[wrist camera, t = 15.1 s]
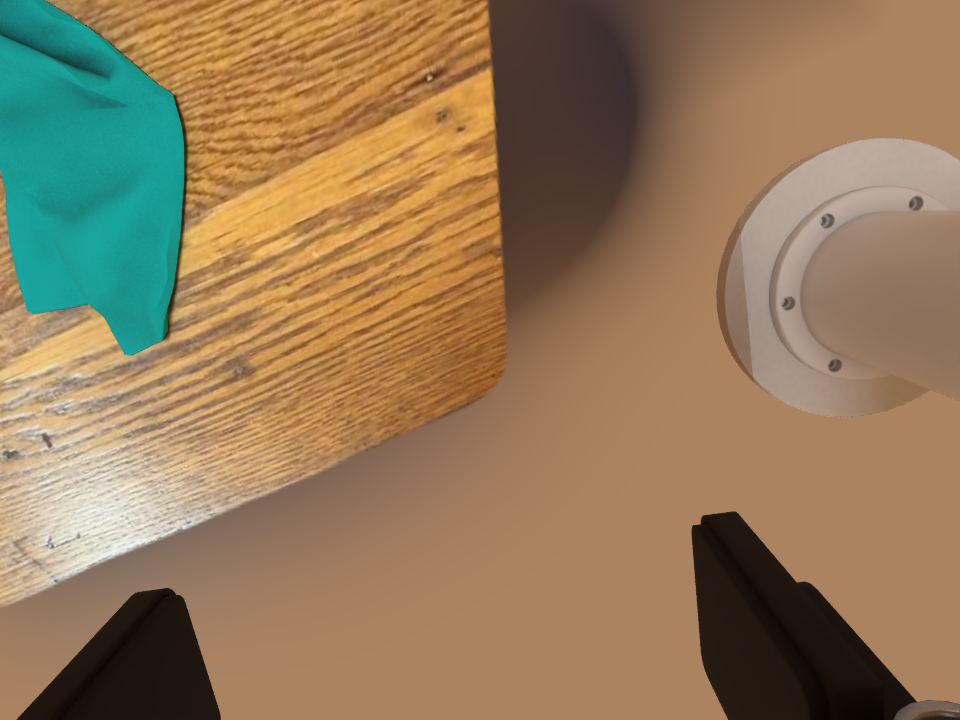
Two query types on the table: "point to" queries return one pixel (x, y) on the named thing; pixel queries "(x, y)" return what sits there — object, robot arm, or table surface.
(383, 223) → the table surface
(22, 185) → the cloth
